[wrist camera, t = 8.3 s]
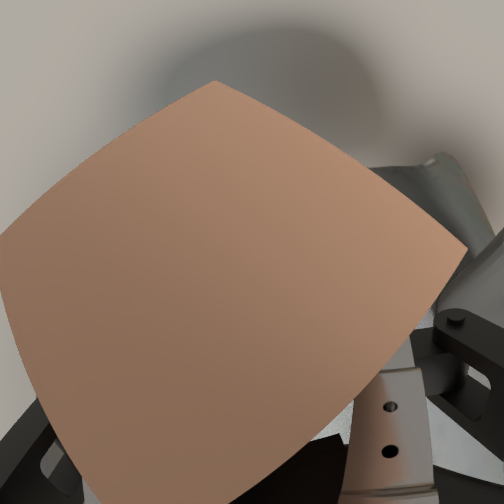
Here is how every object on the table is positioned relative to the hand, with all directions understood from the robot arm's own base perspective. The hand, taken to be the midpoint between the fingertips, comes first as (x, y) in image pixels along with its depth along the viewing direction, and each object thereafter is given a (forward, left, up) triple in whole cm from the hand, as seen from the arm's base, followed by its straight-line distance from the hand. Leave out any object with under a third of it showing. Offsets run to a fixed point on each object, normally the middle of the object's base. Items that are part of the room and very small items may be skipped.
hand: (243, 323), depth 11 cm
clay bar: (+1, +2, -7) cm, 7 cm away
